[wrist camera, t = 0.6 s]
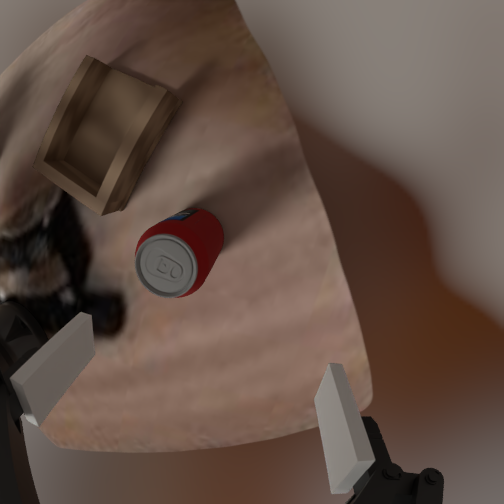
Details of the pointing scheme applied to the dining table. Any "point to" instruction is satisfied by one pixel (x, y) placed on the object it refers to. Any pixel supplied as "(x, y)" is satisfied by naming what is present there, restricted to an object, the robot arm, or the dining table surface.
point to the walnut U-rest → (104, 135)
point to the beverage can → (179, 253)
